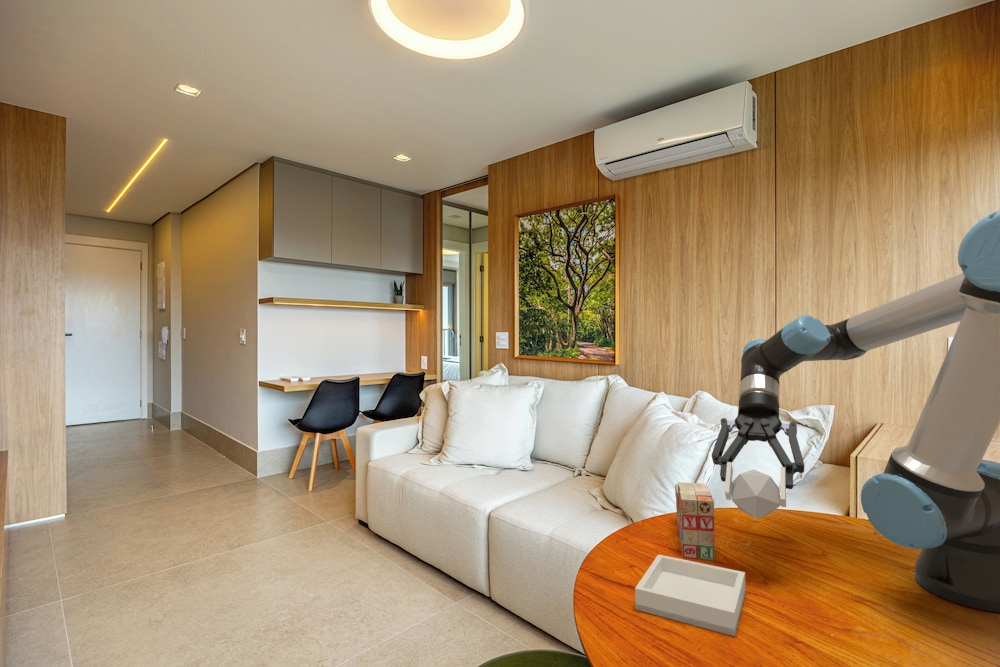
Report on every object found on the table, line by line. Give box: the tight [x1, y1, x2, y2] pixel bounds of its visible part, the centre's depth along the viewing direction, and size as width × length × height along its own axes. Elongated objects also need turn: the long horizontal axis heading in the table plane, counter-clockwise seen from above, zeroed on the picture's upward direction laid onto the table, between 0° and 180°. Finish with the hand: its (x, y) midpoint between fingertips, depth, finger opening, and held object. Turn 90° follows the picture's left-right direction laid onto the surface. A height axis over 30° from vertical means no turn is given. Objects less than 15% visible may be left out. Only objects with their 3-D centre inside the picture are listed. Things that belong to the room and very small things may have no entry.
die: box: [731, 469, 781, 520], centre depth 94 cm, size 8×9×10 cm
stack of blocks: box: [674, 481, 716, 562], centre depth 111 cm, size 21×6×12 cm, turn 164°
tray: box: [634, 554, 746, 637], centre depth 85 cm, size 15×15×4 cm
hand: (754, 499), depth 91 cm, fingers closed on die, 8 cm apart
